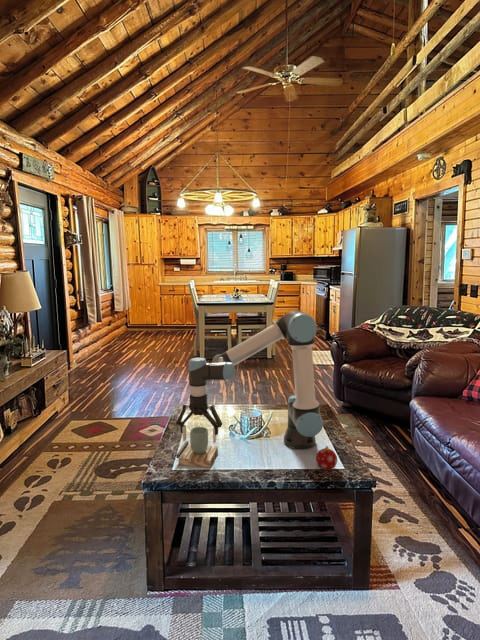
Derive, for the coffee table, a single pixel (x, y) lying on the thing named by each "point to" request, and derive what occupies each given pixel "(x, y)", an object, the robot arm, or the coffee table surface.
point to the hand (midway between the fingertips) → (199, 440)
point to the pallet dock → (196, 456)
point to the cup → (199, 440)
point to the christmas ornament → (326, 459)
